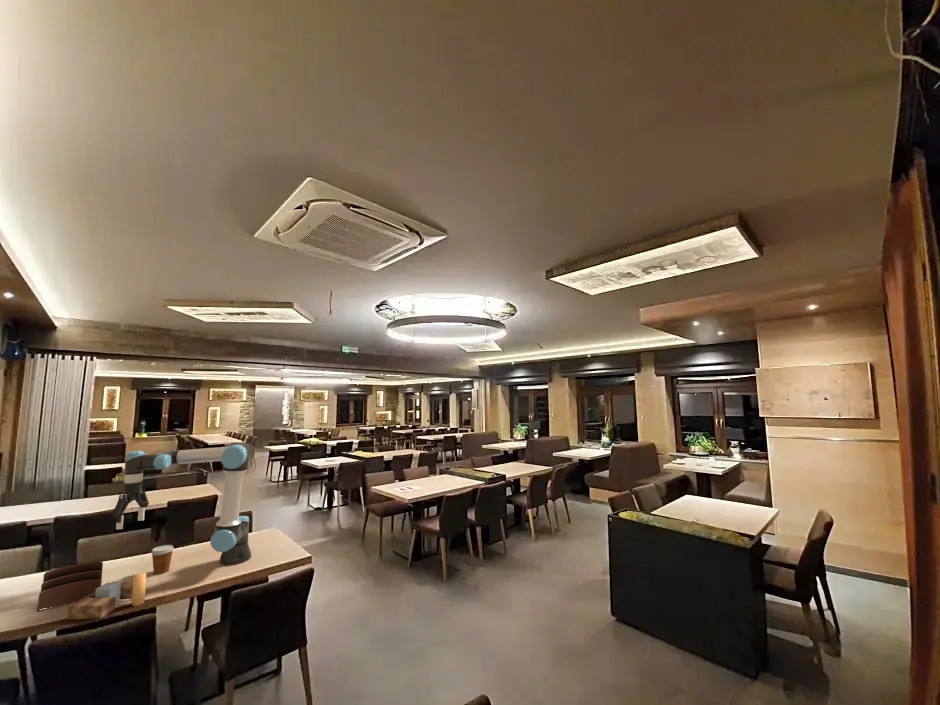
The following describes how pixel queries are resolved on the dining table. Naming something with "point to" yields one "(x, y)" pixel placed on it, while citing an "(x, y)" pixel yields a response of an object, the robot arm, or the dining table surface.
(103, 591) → the tethered block
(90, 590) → the letter holder
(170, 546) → the disposable coffee cup
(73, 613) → the cubby lane
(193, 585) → the dining table surface
